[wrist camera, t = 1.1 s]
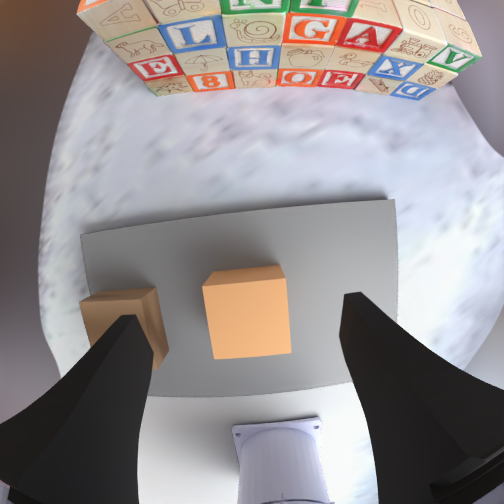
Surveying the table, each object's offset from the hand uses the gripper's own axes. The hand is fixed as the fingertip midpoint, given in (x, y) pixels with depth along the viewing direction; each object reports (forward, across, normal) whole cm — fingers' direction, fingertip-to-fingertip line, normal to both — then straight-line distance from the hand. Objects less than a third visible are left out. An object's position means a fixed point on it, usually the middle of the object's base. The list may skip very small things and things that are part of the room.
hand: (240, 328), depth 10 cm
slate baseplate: (+9, +1, +7) cm, 11 cm away
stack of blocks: (+16, -5, -11) cm, 20 cm away
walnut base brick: (+8, +9, +6) cm, 14 cm away
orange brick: (+8, 0, +6) cm, 10 cm away
